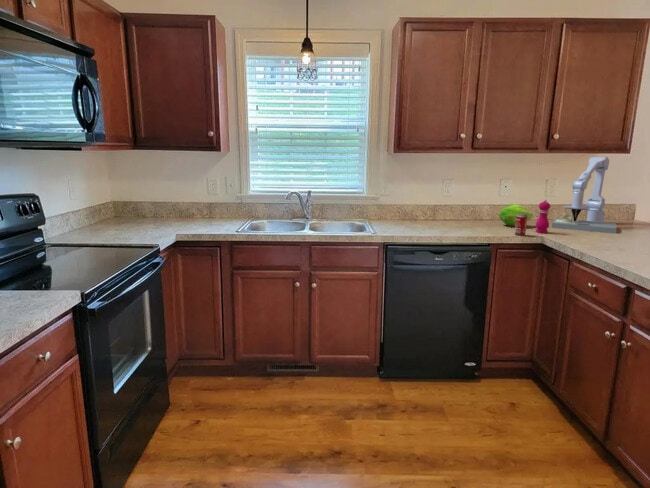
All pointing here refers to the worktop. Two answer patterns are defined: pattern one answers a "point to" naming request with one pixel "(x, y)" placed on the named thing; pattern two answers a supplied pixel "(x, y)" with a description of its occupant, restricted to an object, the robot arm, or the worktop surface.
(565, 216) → the maple cube
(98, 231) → the worktop surface
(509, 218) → the lettuce
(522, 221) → the beverage can
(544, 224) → the pepper mill
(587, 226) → the trap deck
